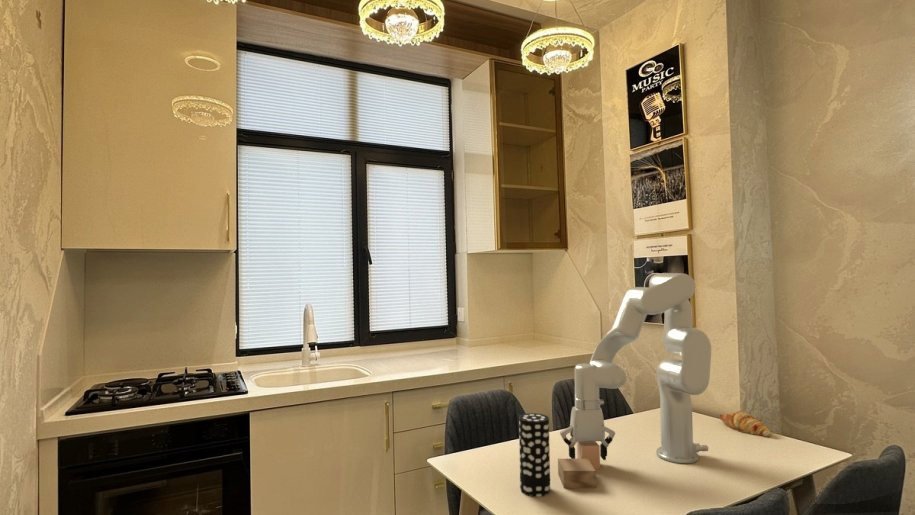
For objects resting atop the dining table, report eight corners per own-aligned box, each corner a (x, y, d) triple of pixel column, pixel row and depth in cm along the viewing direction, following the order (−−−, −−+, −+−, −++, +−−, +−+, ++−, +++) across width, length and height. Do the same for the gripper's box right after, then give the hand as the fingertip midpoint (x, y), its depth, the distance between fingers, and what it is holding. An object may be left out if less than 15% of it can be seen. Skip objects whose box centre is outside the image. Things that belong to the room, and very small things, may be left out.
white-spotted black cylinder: (517, 484, 139) (516, 413, 139) (545, 482, 139) (544, 412, 140) (523, 497, 130) (522, 422, 131) (553, 495, 131) (552, 421, 132)
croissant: (777, 447, 175) (783, 426, 176) (760, 437, 171) (766, 416, 173) (724, 428, 194) (731, 409, 196) (708, 419, 191) (715, 400, 192)
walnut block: (588, 475, 145) (588, 458, 145) (596, 488, 136) (595, 470, 136) (558, 475, 145) (557, 458, 145) (563, 488, 136) (563, 470, 136)
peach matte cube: (594, 461, 154) (593, 439, 155) (600, 468, 149) (599, 445, 149) (577, 462, 154) (576, 440, 154) (582, 469, 149) (582, 446, 149)
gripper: (609, 400, 156) (610, 453, 156) (557, 401, 155) (557, 455, 155) (618, 406, 149) (619, 462, 148) (563, 407, 148) (563, 464, 147)
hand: (588, 458), depth 152 cm, fingers open, 9 cm apart
